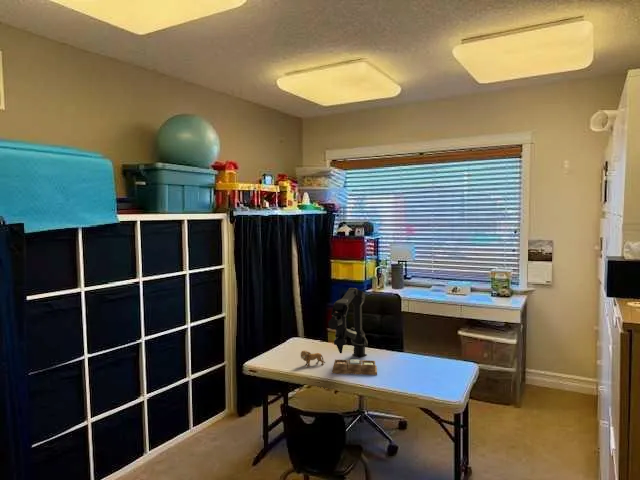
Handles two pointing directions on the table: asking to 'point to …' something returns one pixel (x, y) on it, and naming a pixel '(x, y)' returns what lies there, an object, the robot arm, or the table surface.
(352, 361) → the button
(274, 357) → the table surface
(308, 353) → the lion figurine
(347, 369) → the button board
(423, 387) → the table surface
